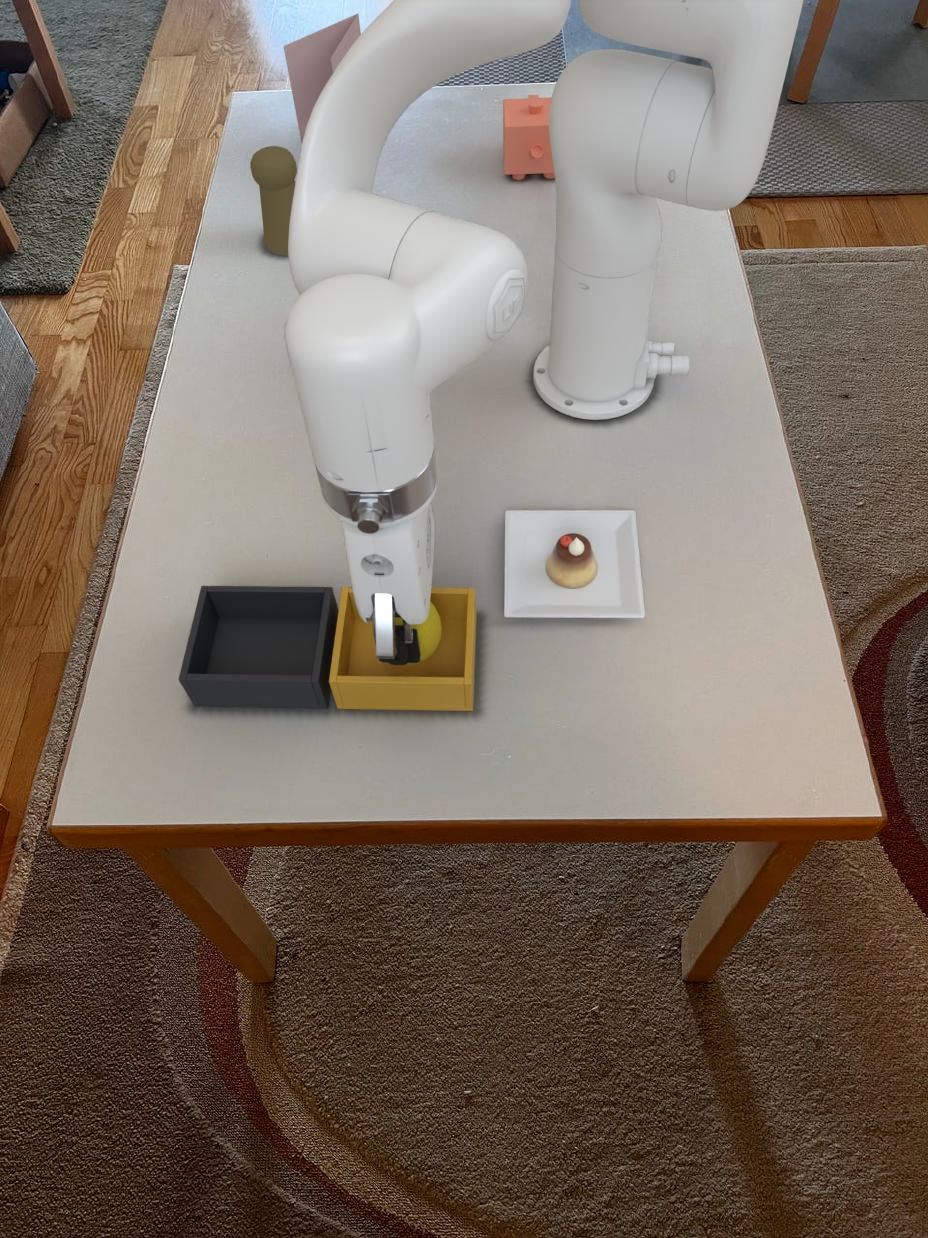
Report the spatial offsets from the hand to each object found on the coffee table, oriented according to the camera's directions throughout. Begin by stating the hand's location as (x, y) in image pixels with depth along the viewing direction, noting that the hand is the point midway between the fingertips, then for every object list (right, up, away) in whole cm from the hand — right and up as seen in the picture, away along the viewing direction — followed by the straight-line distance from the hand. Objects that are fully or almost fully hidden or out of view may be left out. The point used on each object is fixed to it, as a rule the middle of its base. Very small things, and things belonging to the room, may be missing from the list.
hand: (403, 624), depth 72 cm
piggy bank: (+14, +59, +46) cm, 76 cm away
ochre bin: (0, -3, +5) cm, 6 cm away
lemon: (+1, -2, +4) cm, 5 cm away
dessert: (+15, +5, +10) cm, 18 cm away
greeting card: (-10, +62, +49) cm, 79 cm away
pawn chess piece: (-17, +47, +39) cm, 63 cm away
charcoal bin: (-12, -3, +5) cm, 13 cm away
